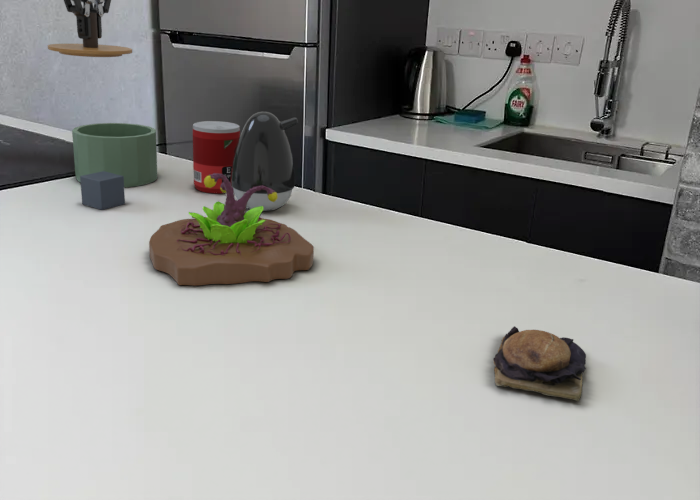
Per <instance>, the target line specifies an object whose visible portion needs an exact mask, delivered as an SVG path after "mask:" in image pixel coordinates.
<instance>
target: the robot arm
mask: <svg viewBox="0 0 700 500" xmlns="http://www.w3.org/2000/svg"><path fill="white" fill-rule="evenodd" d="M111 2H112V0H63V3H64V6H65V8H66V11H67V12H68V13H72V14H73V15H74V17H76V32H77V37H78V38H79V39H81V40H83V39H90V38H91V24H90V17H89V15H90V12H94V13H97V31H98V40H99V39H102V37H103V29H102V28H103V27H102V18H103V16H104V14H108V13H109V12H110V8H111Z"/></svg>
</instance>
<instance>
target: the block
mask: <svg viewBox="0 0 700 500" xmlns="http://www.w3.org/2000/svg"><path fill="white" fill-rule="evenodd" d="M80 182H81V183H80ZM80 182H79V183H80V194H81V195H80V196H81V205H84V206H86V207H90V208H94V209H97V210H101V211H103V210H107V209H111V208H115V207H118V206H123V205H125V204H126V197H125V196H126V195H125V187H124V176H121V175H117V174H113V173H109V172H105V171H102V172H97V173H92V174H87V175H83V176H80Z"/></svg>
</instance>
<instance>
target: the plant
mask: <svg viewBox="0 0 700 500" xmlns="http://www.w3.org/2000/svg"><path fill="white" fill-rule="evenodd" d="M218 179H222V180H223V181H224V182H223V183H222V184H221V185H220V189H221V191H222V192H224V193H223V194H226V195H225V197H226V198H225V202H224V203H222V202H220V201H215V202H214V204H213V206H212V207H213V209H211V208H210V207H207V206H202V210H203V212H204V214H205V215H206V216H203V215H202V214H200V213H198V212H190V211H188V215H189V216H191V218H184V219H178V220H176V221H173V222H170V223H169V222H168V223H166V224H162V225H160V227H159V228H158V229H157V230H156V231H155V232H154V233H153V234H152V235H151V236H150V239H149V241H148V250H149V252H148V253H149V258H150V260H151V263H152V266H153V268H154V269H155V270H156V271H160V272H162V273H166V274H168V275H169V276H170V277H171V278H172V279H174V281H175V282H176V284H177V285H178V286H197V287H198V286H206V285H237V284H243V283H244V284H245V283H250V282H262V283H269V282H271V281H273V280H289V279H290V278H292V277H293V275H294V273H295V272H296V271H309V270H311V268H312V267H313V265H314V256H315V255H314V254H315V248H314V246H313V244H312V243H310V241H308V240H307V239H306V238H305V237H303V236H302V235H301V234H300V233H299V232H298V231H296V230H295V229H294V228H292V227H290V226H288V225H287V224H285V223H281V222H278V221H276V220H273V219H270V218H263V217H260V216H261V214H262V213H263V212H264V211H263V209H264V208H263V206H259V207H255V208H252V209H249V210H247V207H246V206H247V202H248V200H249V198H251V195H252V194H253V193H254V192H256V191H260V190H262V189H263V190H266V191H267V196H268V199H269V200H270V201H272V202H274V201H276V200H277V198H278V196H277V193H276V192H275V191H274V190H272V189H270V188H268V187H266V186H263V185H262V186H257V187H253V188H252V189H250V190H248V191H246V193H244V195H243V196H242V197H241V198H240V199H239V200H237V199H236V197H235V194H234V192H233V191H234V189H233V187H232V186H231V183H230V182H229V180H228V179H227V177H226V176H224V175H223V174H219V173H213V174H211V175H210V174H209V176H207V177H206V178H205V179H204V184H205V186H206V187H209V188H211V187H213V186H215V184H216V182H217V180H218Z"/></svg>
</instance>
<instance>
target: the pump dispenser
mask: <svg viewBox="0 0 700 500" xmlns="http://www.w3.org/2000/svg"><path fill="white" fill-rule="evenodd" d="M298 123H299V120H298V118H297V117H292V118H289V119H285V120H281V121H280V120H279V118H278V117H277V116H276V115H275V114H273V113H272V112H269V111H258V112H255V113H253V114H252V115H251V116H250V117H249V118H248V119H247V120H246V122H245V124H244V126H243V128H242V130H241V131H240V137H239V140H238V142H237V145H236V149H235V152H234V157H233V162H232V169H231V178H230V183H231V186H232V187H233V189H234V197H235V199H236V200H239V199H240V198H241V197H242V196H243V195H244V193H246V191H248V190H250V189H252V188H253V187H257V186H262V185H263V186H266V187H268V188H270V189H272V190H274V191H275V192H276V193H277V196H278V198H277V200H276V201H274V202H272V201H270V200H269V199H268V196H267V191H266V190H263V189H262V190H260V191H256V192H254V193H253V194H252V195H251V198H249V200H248V202H247V206H246V209H249V210H250V209H252V208H255V207H259V206H263V208H264V209H263V211H262V212H270V211H276V210H277V209H279V208H281V207H283V206H284V205H285V204H286V203H288V201H289V199H290V197H291V196H292V193H293V190H294V188H295V187H296V174H295V165H294V158H293V152H292V148H291V145H290V142H289V139H288V136H287V133H286V130H288V129H290V128H292V127H294V126H295V125H296V126H297V125H298Z"/></svg>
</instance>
